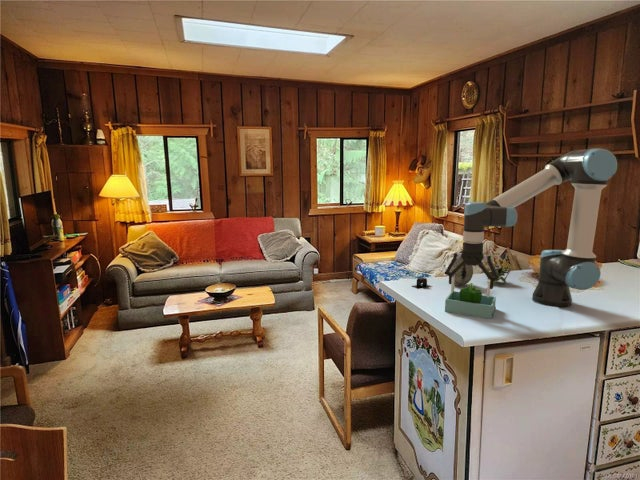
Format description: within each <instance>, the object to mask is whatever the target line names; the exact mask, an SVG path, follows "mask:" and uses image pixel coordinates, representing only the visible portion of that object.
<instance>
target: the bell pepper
mask: <svg viewBox="0 0 640 480" xmlns="http://www.w3.org/2000/svg"><path fill="white" fill-rule="evenodd" d="M473 285H474V284H473V282H470V283H469V287H467V286H465V287H463V288H460V290H459V292H460V296H459V297H460V301H464V302H470V303H477V304H480V302H481V297H482V295H483V291H482V290H481V289H478V288H476V287H473Z"/></svg>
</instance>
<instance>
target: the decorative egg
mask: <svg viewBox="0 0 640 480" xmlns="http://www.w3.org/2000/svg"><path fill="white" fill-rule="evenodd" d="M462 261H463V259H462V258H461V257H459V258H458V259H456V261H455V263H454V264H453V266H452V268H451V269H450V271H449V272H452V271H453V270H454V269H455V268H456V267H457V266H458V265H459V264H460V263H461V262H462ZM473 275H474V266H473V265H467V264H464V265H463V266H462V267H461V268H460V269H459V270H458V271H457V272H456V273H455V274H453V276H455V283H454V285H457V286H465V285H467V284H469V282H471V280H472V278H473Z"/></svg>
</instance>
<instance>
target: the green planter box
mask: <svg viewBox="0 0 640 480" xmlns="http://www.w3.org/2000/svg"><path fill="white" fill-rule="evenodd" d="M459 296H460V291H455V290H454V292H453V293H451V292H450V293H449V294H448V295H447V296H446V298H445V302H444V303H445V304H444V312H448V313H453V314H459V315H464V316H465V315H466V316H469V317H472V316H473V317H476V318H477V317H478V318H482V319H490V320H491V319H492V318H493V317H494V313H495V310H496V299H497V298H496V297H497V296H491V295H490V296H489V298H488V297H487V295H484V294H482V297H481V302H480V304H477V303H470V302H464V301H460V297H459Z"/></svg>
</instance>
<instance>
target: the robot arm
mask: <svg viewBox="0 0 640 480" xmlns="http://www.w3.org/2000/svg"><path fill="white" fill-rule="evenodd" d="M617 170H618V161H617V157H616V156H615V155H614V154H613V152H612V151H610V150H608V149H605V148H597V147H596V148H588V149H576V150H572V151H569V152H567V153H565V154H563V155H561V156H560V157H557V158H556V159H555V160H553V161H551V162H549V163H548V164H546V165H545V166H544V169H542V170H540V171H538V172H537V173H535V174H534V175H532V176H530V177H529V178H527V179H525V180H523V181H522V182H520V183H517V184H516V185H514V186H513V187H511V188H510V189H508V190H506V191H505V192H503V193H500V194H499V195H498V196H496V197H494V198H492V199H491V200H489V201H487V202H483V201H469V202H467V203H465V205H464V210H463V212H464V213H463V216H464V217H463V230H462V231H463V232H462V234H463V235H462V241H463V242H462V249H461V250H462V252H461V253H460V252H458V251H456V252H454V253H453V256H452V260H451V262H450V263H449V264H448V266H447V268H446V269H445V271H444V275H446V276H448V284H449V285H450V286H451V287H450V293H453V292H454V291H455V284H454V283H455V276H453V274H455V273H456V272H457V271H458V270H459V269H460V268H461V267H462V266H463V265H464V264H467V265H472V266H473V267H476V266H478V267H479V268H480V269H481V271H483V273H484V274H485V276H486V278H489V279H490V280H489V279H487V291H486V292H487V293H486V296H487V297H488V298H489V296H491V290H493V289H494V284H495V283H494V281H495V280H498V279H499V275H498V273H497V271H496V269H495V267H494V266H495V265H494V263H493V261H492V255H491V254H487V255H484V243H483V242H484V239H485V237H484V236H485V227H486V228H488V227H493V228H494V227H499V228H500V227H505V228H508V227H514V226H515V225H516V224H517V222H518V212H517V209H516V207H518V206H519V205H521V204H523V203H525V202H527V201H528V200H530V199H532V198H534V197H535V196H537V195H539V194H541V193H542V192H544V191H546V190H547V189H550V188H552V186H554V185H557V186H559V185H561V184H563V183H565V182H569V181H571V183H570V184H571V185H572V187H574V195H573V200H572V201H573V202H572V207H571V208H572V209H571V216H570V222H569V223H570V224H569V228H568V229H569V231H568V237H567V245H566V249H564V250H563V249H544V250H542V251H541V254H540V258H539V260H540V262H539V271H538V282H537V285H536V286H535V289H534V291H532V298H531V300H532V301H533V302H535V303H537V304H540V305H544V306H547V307H548V306H549V307H555V308H568V307H571V306H572V305H573V298H572V294H571V290H570V288H571V289H575V290H578V291H586V290H589V289H591V288H592V287H594V286H596V285H597V283H598V282H599V281H600V278H601V273H602V272H601V269H600V267H599V266H598V265H597V264H596V262H597V260H596V259H597V255H596V254H595V253H594V252H593V250H594V249H593V248H594V242H595V235H596V231H597V223H598V216H599V208H600V202H601V195H602V190H603V189H605V188H606V187H607V186H608V180H610V179H611V178H612V177H613V176H614V175H615V174H616V173H617ZM459 257H461V258H462V259H463V261H462V262H461V263H460V264H459V265H458V266H457V267H456V268H455V269H454V270H453V271H452V272H449V271H450V269H451V268H452V266H453V264H454V263H455V261H456V259H458V258H459ZM483 260H485V261H486V262H487V264H488V266H489V269H490V270H491V271H492V273H493V275H494V277H493V276H492V275H491V273H490V272H489V271H490V270H489V269H488V268H487V267H486V266H485V265H484V264H485V263H483V262H482V261H483Z"/></svg>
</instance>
